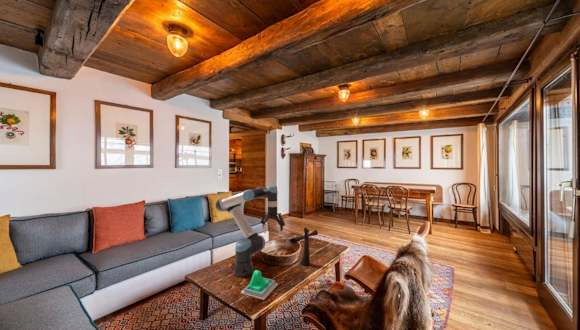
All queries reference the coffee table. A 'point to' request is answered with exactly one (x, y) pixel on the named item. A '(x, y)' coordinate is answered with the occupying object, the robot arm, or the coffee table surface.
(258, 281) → the camera mount
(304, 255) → the flared trumpet-armed statue
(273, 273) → the coffee table surface
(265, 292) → the dock
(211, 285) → the coffee table surface
